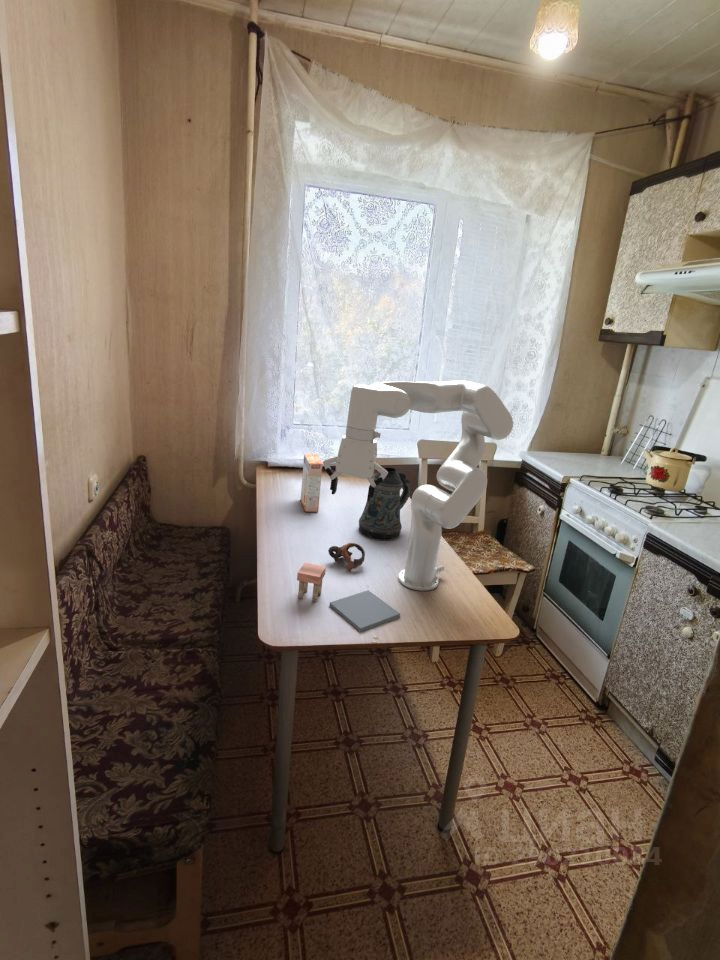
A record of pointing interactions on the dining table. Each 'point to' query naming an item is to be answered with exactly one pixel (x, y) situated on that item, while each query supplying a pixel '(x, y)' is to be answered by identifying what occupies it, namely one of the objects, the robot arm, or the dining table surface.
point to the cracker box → (311, 482)
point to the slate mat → (364, 610)
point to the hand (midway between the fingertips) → (351, 496)
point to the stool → (310, 579)
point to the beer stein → (385, 507)
